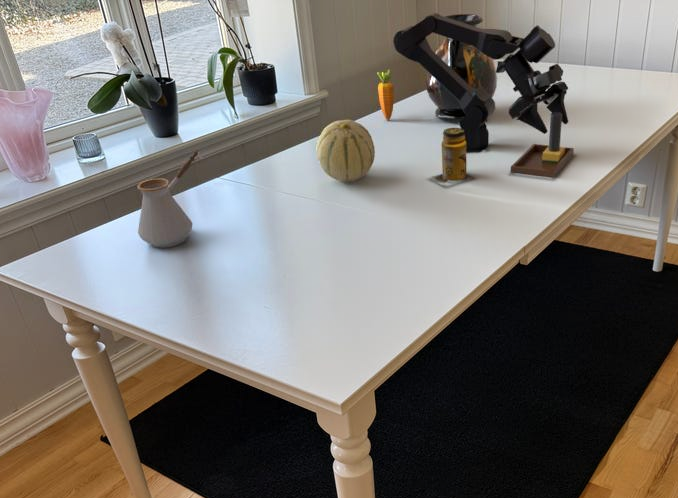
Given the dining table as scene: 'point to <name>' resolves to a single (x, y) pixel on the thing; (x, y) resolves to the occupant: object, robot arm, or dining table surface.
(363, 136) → the cantaloupe
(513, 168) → the tray
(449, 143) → the condiment
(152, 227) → the coffee pot
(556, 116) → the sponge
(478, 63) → the amphora vase
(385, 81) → the carrot
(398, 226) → the dining table surface
